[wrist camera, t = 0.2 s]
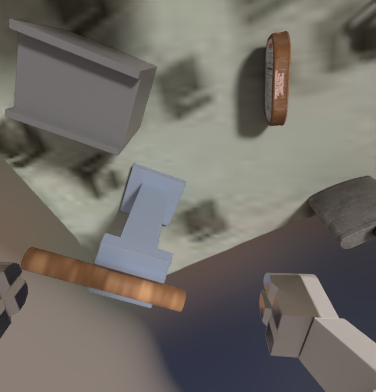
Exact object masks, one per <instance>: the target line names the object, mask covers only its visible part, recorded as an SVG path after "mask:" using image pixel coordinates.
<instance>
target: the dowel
mask: <svg viewBox="0 0 376 392" xmlns="http://www.w3.org/2000/svg"><path fill="white" fill-rule="evenodd" d="M21 269H23V270H27V271H31V272H34V273H38V274H42V275H45V276H49V277H53V278H57V279H60V280H64V281H68V282H72V283H76V284H79V285H83V286H86V287H90V288H94V289H97V290H101V291H105V292H109V293H112V294H116V295H120V296H123V297H127V298H131V299H134V300H138V301H142V302H146V303H149V304H153V305H157V306H160V307H164V308H168V309H172V310H176V311H179V312H180V311H181V310H182V308H183V306H184V302H185V298H186V291H185V290H183V289H179V288H175V287H172V286H168V285H165V284H161V283H158V282H154V281H151V280H147V279H144V278H140V277H137V276H133V275H130V274H126V273H122V272H119V271H115V270H112V269H108V268H105V267H101V266H98V265H94V264H90V263H87V262H84V261H80V260H76V259H73V258H70V257H66V256H62V255H59V254H55V253H52V252H48V251H45V250H41V249H38V248H34V247H30V248H29V249H28V250H27V252H26V253H25V255H24V257H23V259H22V262H21Z"/></svg>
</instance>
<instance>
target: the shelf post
mask: <svg viewBox="0 0 376 392" xmlns="http://www.w3.org/2000/svg"><path fill="white" fill-rule="evenodd" d="M185 184H186V181H183V180H180V179H178V178H175V177H172V176H169V175H166V174H163V173H160V172H157V171H154V170H152V169H149V168H146V167H143V166H140V165H137V164H134V165H133V168H132V171H131V175H130V178H129V181H128V185H127V188H126V192H125V195H124V198H123V202H122V205H121V209H120V211H122V212H125V213H128V214H130V215H129V217H128V219H127V222H126V224H125V227H124V229H123V232H122V234H121V237H117V236H114V235H111V234H108V233H105V235H104V237H103V239H102V241H101V244H100V247H99V251H98V255H97V257H96V259H95V262H94V264H95V265H98V266H101V267H105V268H108V269H112V270H115V271H119V272H122V273H126V274H130V275H133V276H137V277H140V278H144V279H147V280H151V281H154V282H158V283H161V284H162V283H164V281H165V278H166V273H167V271H168V269H169V267H170V264H171V261H172V253H170V252H167V251H164V250H160V249H157V248H158V243H159V237H160V232H161V227H162V224H163V225H166V226H169V224H170V221H171V219H172V216H173V214H174V211H175V209H176V206H177V204H178V201H179V199H180V197H181V194H182V192H183V189H184V187H185ZM88 291H89V292H93V293H97V294H101V295H104V296H108V297H112V298H115V299H119V300H123V301H126V302H130V303H134V304H138V305H141V306H145V307H149V308H151V307H152V304H149V303H146V302H142V301H138V300H134V299H131V298H127V297H123V296H120V295H116V294H112V293H109V292H105V291H101V290H97V289H94V288H90V287H89V288H88Z"/></svg>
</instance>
